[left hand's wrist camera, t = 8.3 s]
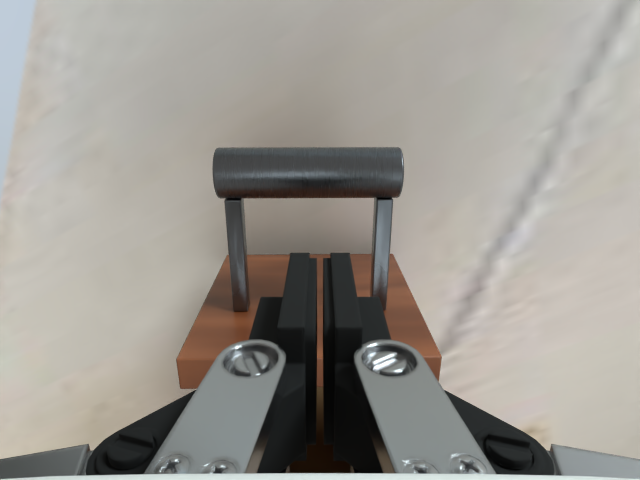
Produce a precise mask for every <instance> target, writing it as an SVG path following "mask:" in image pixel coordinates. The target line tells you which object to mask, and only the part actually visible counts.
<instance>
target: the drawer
mask: <svg viewBox="0 0 640 480" xmlns="http://www.w3.org/2000/svg"><path fill="white" fill-rule="evenodd" d="M403 179H404V160H403V154H402V151H401V149H400V148H398V147H358V148H217V149H216V150H215V153H214V157H213V182H214V188H215V192H216V194H217V196H218V198H226V199H225V213H226V225H227V238H228V251H229V255H227V256H226V258H225V260H224V263H223V265H222V267H221V269H220V271H219V273H218V275H217V277H216V279H215V281H214V283H213V285H212V287H211V289H210V291H209V293H208V295H207V297H206V299H205V302H204V304H203V306H202V308H201V310H200V312H199V314H198V316H197V318H196V320H195V322H194V324H193V326H192V328H191V330H190V332H189V334H188V336H187V339H186V341H185V343H184V345H183V347H182V349H181V351H180V353H179V355H178V357H177V359H176V361H177V368H178V376H179V383H180V388H181V389H197V388H198V386H199V385H200V383H201V382H202V380H203V379H204V377H205V375H206V374H207V372H208V371H209V369H210V367H211V366H212V364H213V363H214V361H215V359H216V358H217V356H218V355H219V354H220V353H221V352H222V351H223V350H224V349H225V348H227V347H228V346H230V345H232V344H235V343H237V342H240V341H245V340H249V336H250V333H251V329H252V326H253V322H254V319H255V315H256V311H257V308H258V304H259V301H260V298H261V297H283V292H284V286H285V281H286V275H287V269H288V263H289V258H290V255H247V247H246V231H245V215H244V199H243V198H374V216H373V238H372V254H350V258H351V263H352V269H353V275H354V281H355V286H356V292H357V297H379V298H380V301H381V304H382V308H383V311H384V315H385V319H386V322H387V326H388V329H389V333H390V336H391V340H395V341H400V342H403V343H405V344H408V345H410V346H412V347H413V348H415V349H416V350H417V351H418V352H419V353H420V354H421V355H422V356H423V358H424V359H425V361H426V363H427V364H428V366H429V367H430V369H431V371H432V372H433V374H434V375H435V377H436V379H437V380H438V382H439V375H440V366H441V358H442V357H441V354H440V352H439V350H438V348H437V346H436V344H435V342H434V340H433V337H432V335H431V333H430V331H429V329H428V327H427V325H426V323H425V321H424V318H423V316H422V314H421V312H420V310H419V308H418V306H417V304H416V302H415V300H414V297H413V295H412V293H411V291H410V289H409V287H408V285H407V283H406V281H405V278H404V276H403V274H402V272H401V270H400V268H399V266H398V264H397V262H396V260H395V257H394V255H393V254H390V241H391V225H392V209H393V199H392V198H397V197H399V196H400V194H401V191H402V187H403ZM310 258H317V414H316V445H307V460H306V461H294V462H293V463H291V464H290V473H350V464H349V463H347V462H346V461H334V460H333V445H324V414H323V258H330V254H314V255H310Z"/></svg>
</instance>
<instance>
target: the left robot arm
mask: <svg viewBox="0 0 640 480" xmlns="http://www.w3.org/2000/svg"><path fill="white" fill-rule="evenodd" d="M316 414H317V258H310V254H309V253H290V258H289V263H288V269H287V275H286V281H285V286H284V292H283V297H261V298H260V301H259V304H258V308H257V311H256V315H255V319H254V322H253V326H252V329H251V333H250V336H249V340H245V341H240V342H237V343H235V344H232V345H230V346H228V347H227V348H225V349H224V350H223V351H222V352H221V353H220V354H219V355H218V356H217V358H216V359H215V361H214V363H213V364H212V366H211V367H210V369H209V371H208V372H207V374H206V375H205V377H204V379H203V380H202V382H201V383H200V385H199V386H198V388H197V390H195V391H193V392H191V393H189V394H187V395H185V396H183V397H182V398H180V399H178V400H176V401H174V402H172V403H170V404H168V405H166V406H165V407H163V408H161V409H159V410H157V411H155V412H153V413H151V414H149V415H148V416H146V417H144V418H142V419H140V420H138V421H136V422H134V423H132V424H131V425H129V426H127V427H125V428H123V429H121V430H119V431H117V432H116V433H114V434H112V435H111V436H109V437H108V438H106V439H105V440H104V441H103V442H102V443H101V444H99V445H98V446H97V447H96V448H95V449H94V450H93V451H90V448H89V444H86V445H80V446H74V447H68V448H63V449H57V450H51V451H45V452H40V453H34V454H28V455H23V456H17V457H11V458H5V459H0V480H640V459H635V458H629V457H623V456H617V455H612V454H606V453H600V452H595V451H589V450H583V449H577V448H572V447H566V446H560V445H555V444H551V448H550V451H547V450H546V449H545V448H544V447H543V446H542V445H541V444H539V443H538V442H537V441H536V440H535V439H534V438H532V437H531V436H529V435H528V434H526V433H524V432H523V431H521V430H519V429H517V428H515V427H513V426H511V425H509V424H508V423H506V422H504V421H502V420H500V419H498V418H496V417H494V416H492V415H491V414H489V413H487V412H485V411H483V410H481V409H479V408H477V407H475V406H474V405H472V404H470V403H468V402H466V401H464V400H462V399H460V398H458V397H457V396H455V395H453V394H451V393H449V392H447V391H445V390H443V388H442V386H441V385H440V383H439V382H438V380H437V379H436V377H435V375H434V374H433V372H432V371H431V369H430V367H429V366H428V364H427V363H426V361H425V359H424V358H423V356H422V355H421V354H420V353H419V352H418V351H417V350H416V349H415V348H413V347H412V346H410V345H408V344H405V343H403V342H400V341H395V340H391V336H390V333H389V329H388V326H387V322H386V319H385V315H384V311H383V308H382V304H381V301H380V298H379V297H357V292H356V286H355V281H354V275H353V269H352V263H351V258H350V253H331V254H330V258H323V414H324V445H333V460H334V461H346V462H347V463H349V464H350V473H290V464H291V463H293V462H294V461H306V460H307V445H316Z"/></svg>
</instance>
